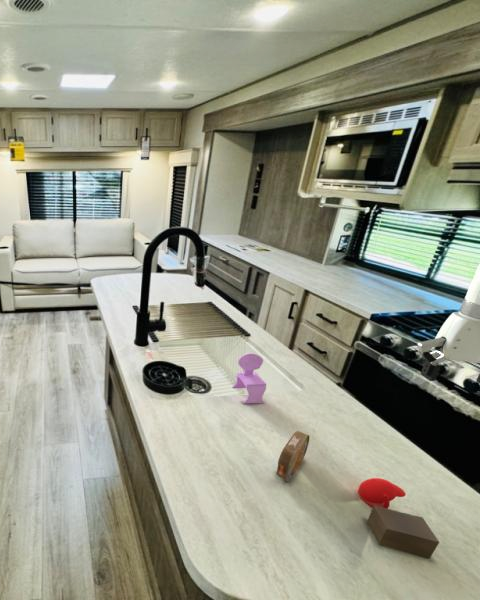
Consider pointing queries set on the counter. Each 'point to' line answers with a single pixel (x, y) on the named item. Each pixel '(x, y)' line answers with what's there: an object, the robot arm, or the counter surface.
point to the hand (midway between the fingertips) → (455, 381)
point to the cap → (379, 492)
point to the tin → (292, 455)
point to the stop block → (402, 532)
